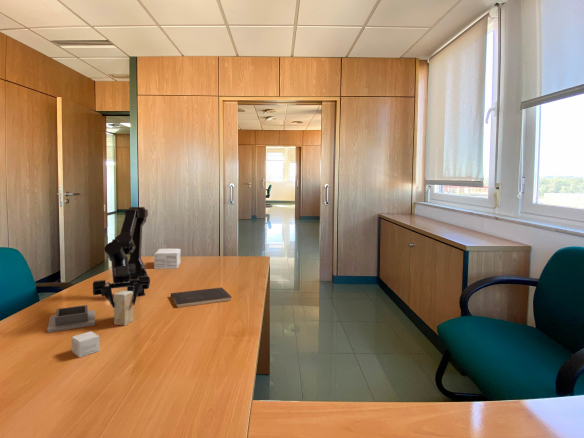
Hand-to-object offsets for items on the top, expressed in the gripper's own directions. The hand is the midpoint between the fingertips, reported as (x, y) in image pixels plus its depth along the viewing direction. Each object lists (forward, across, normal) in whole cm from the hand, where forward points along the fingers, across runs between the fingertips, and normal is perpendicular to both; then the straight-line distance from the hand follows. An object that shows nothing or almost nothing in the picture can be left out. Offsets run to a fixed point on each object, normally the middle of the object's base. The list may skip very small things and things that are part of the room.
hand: (124, 305), depth 128 cm
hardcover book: (-6, +32, +17) cm, 37 cm away
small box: (+17, -12, -8) cm, 22 cm away
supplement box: (-57, +32, +67) cm, 93 cm away
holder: (-3, -16, +12) cm, 20 cm away
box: (+4, 0, +6) cm, 7 cm away
